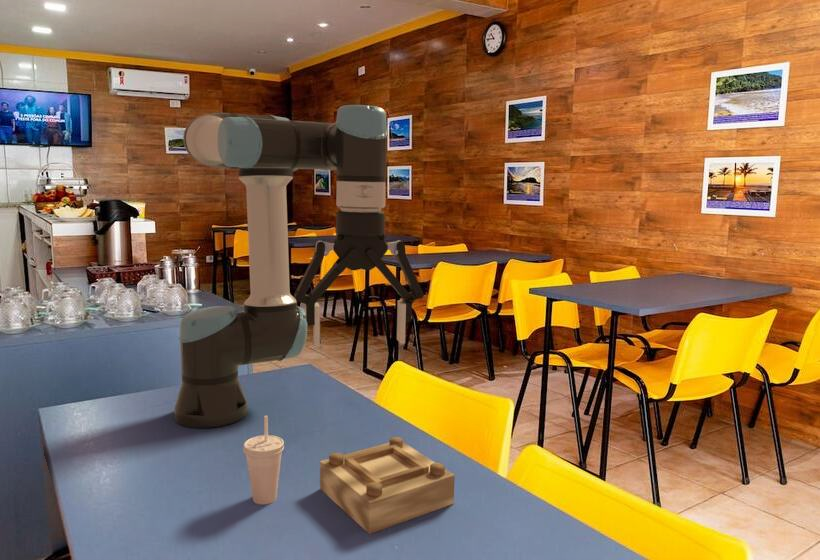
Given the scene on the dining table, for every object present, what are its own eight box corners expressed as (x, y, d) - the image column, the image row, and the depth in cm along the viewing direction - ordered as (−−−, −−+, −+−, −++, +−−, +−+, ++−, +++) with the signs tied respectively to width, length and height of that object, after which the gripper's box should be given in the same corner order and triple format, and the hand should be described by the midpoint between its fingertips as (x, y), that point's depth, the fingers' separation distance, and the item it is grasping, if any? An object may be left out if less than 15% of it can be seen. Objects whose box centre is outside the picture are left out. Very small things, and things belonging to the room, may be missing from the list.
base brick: (320, 488, 105) (320, 454, 104) (398, 465, 114) (399, 433, 113) (369, 534, 92) (370, 495, 91) (453, 503, 101) (454, 467, 100)
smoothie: (293, 495, 103) (292, 415, 100) (265, 513, 97) (264, 428, 95) (264, 485, 106) (262, 407, 104) (236, 501, 101) (233, 419, 98)
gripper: (279, 210, 89) (280, 353, 93) (445, 212, 95) (441, 346, 99) (277, 207, 96) (278, 340, 100) (432, 208, 102) (428, 334, 106)
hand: (359, 343), depth 99 cm, fingers open, 13 cm apart
